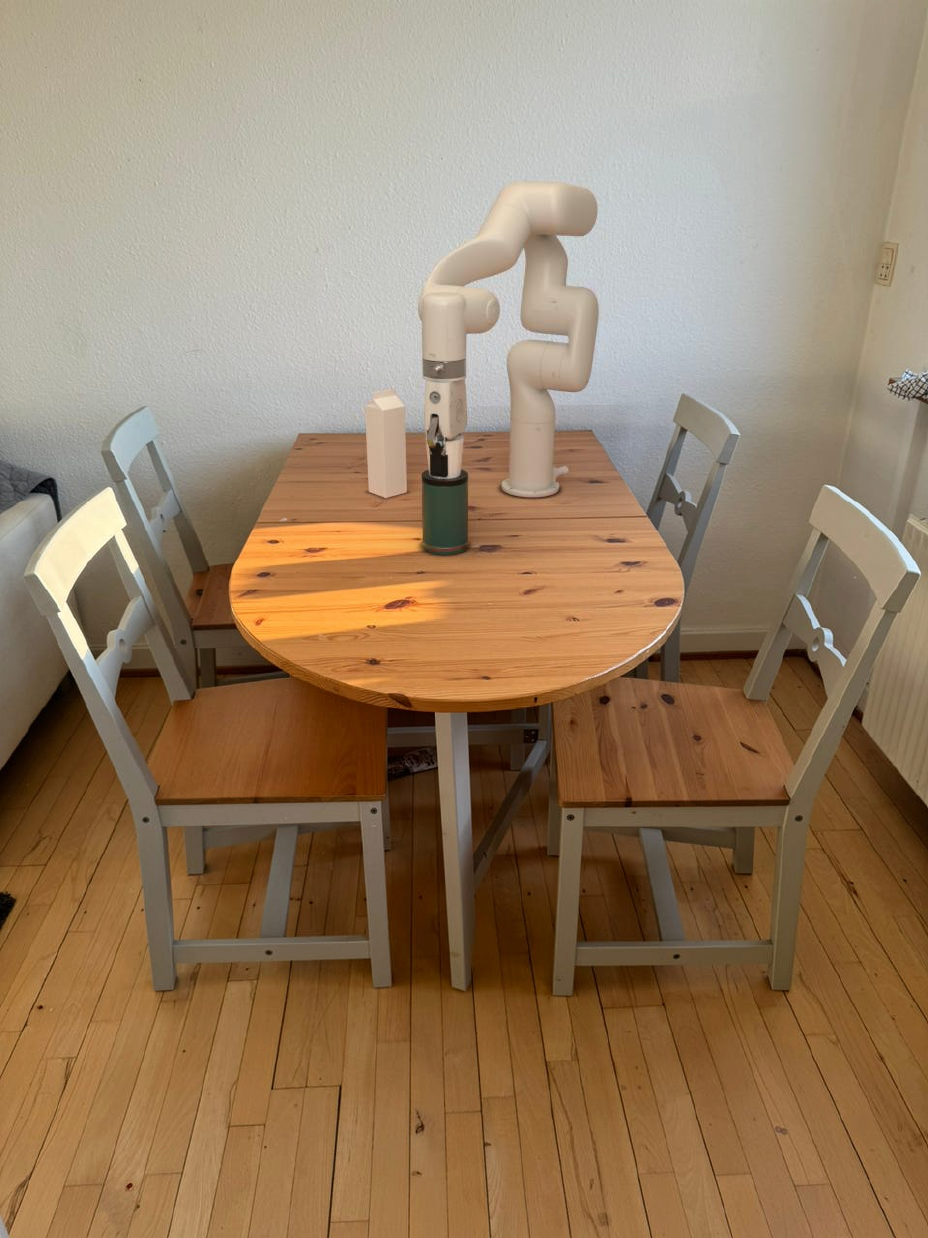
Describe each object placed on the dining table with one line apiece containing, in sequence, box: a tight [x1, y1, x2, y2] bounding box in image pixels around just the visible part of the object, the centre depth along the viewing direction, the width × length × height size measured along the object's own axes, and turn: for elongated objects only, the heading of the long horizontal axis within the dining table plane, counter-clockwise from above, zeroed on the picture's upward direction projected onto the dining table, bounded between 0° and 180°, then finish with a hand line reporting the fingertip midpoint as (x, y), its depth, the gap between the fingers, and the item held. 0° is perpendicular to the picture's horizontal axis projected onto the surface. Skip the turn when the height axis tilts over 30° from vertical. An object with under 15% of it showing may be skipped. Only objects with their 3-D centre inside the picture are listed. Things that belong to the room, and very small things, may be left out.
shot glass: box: [424, 432, 465, 479], centre depth 168 cm, size 7×7×7 cm
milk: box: [364, 387, 408, 499], centre depth 199 cm, size 6×6×22 cm
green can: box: [421, 468, 469, 556], centre depth 173 cm, size 8×8×14 cm
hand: (444, 470), depth 169 cm, fingers closed on shot glass, 5 cm apart
